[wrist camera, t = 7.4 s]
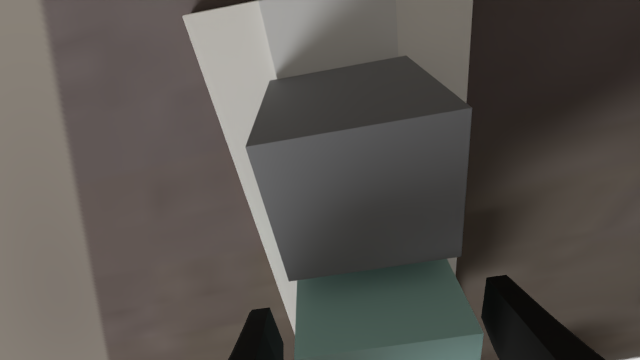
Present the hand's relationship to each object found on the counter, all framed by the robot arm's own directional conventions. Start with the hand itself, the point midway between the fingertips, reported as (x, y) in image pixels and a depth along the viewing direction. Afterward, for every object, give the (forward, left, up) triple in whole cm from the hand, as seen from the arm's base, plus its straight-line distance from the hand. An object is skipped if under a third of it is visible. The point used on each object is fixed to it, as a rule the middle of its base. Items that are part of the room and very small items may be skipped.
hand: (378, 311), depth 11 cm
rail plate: (0, 0, -5) cm, 5 cm away
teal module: (0, 0, -4) cm, 4 cm away
